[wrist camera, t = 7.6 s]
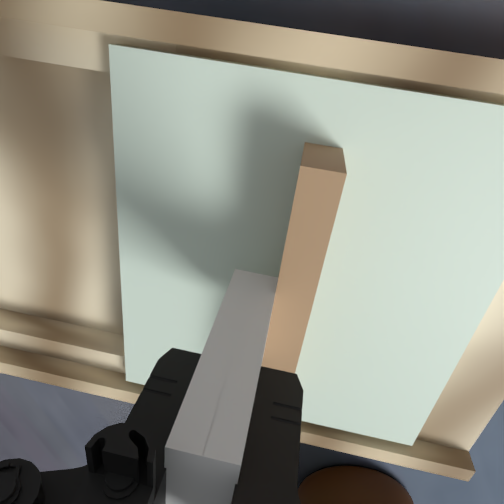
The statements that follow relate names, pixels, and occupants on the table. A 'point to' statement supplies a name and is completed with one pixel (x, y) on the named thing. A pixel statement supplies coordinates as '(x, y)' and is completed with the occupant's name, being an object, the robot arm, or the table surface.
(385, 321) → the lid
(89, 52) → the beige flat rectangular tray
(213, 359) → the robot arm
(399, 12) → the table surface
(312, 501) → the mug
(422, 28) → the table surface
